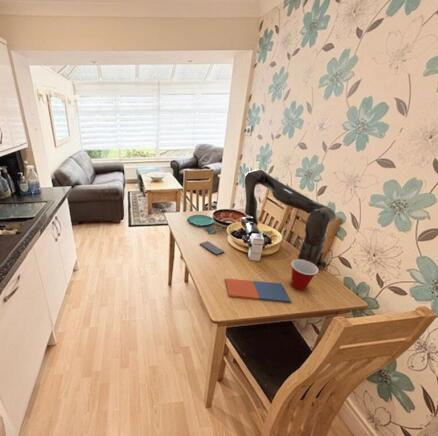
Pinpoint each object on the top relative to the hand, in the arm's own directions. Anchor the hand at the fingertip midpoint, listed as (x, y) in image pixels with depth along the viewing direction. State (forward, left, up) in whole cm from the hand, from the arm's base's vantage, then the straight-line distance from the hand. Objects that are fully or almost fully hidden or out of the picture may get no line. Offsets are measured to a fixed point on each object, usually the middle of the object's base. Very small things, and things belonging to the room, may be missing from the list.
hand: (257, 246), depth 132 cm
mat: (+6, +27, -9) cm, 29 cm away
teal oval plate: (+25, -44, -9) cm, 52 cm away
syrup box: (0, -2, -9) cm, 10 cm away
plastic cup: (-15, +21, -9) cm, 27 cm away
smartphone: (+23, -9, -9) cm, 26 cm away
